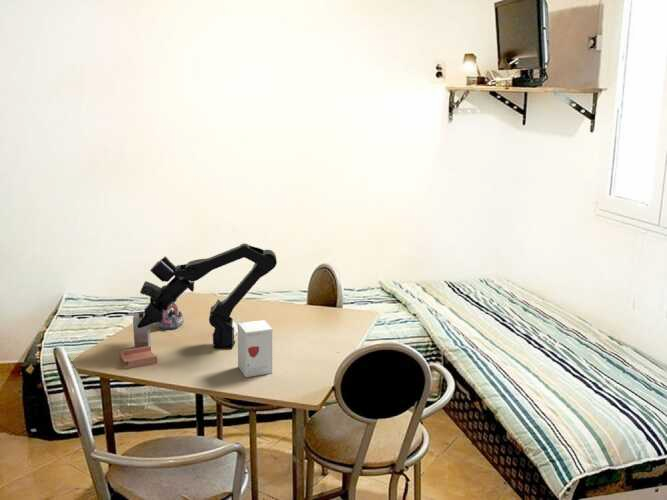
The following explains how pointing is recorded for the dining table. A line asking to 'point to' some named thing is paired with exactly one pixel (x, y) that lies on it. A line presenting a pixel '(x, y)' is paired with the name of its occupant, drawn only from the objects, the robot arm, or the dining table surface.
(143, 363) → the tray
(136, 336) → the knobbed tall block
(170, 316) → the brake caliper
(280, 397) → the dining table surface
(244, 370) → the supplement box
